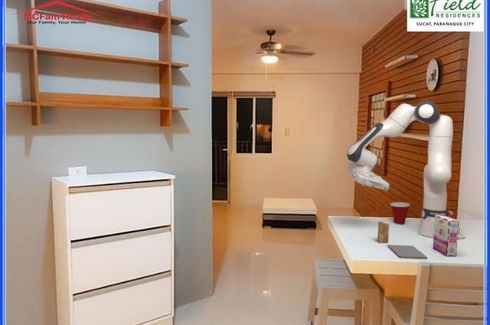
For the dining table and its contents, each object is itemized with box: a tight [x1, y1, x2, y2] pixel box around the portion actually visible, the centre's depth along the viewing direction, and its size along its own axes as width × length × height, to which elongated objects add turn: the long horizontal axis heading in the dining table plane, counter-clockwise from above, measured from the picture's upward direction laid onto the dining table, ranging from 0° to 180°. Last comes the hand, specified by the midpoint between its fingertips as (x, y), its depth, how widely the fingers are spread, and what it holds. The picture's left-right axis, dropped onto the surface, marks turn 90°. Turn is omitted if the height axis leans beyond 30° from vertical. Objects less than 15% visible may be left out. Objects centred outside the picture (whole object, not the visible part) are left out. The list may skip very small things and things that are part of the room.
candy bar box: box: [432, 215, 460, 257], centre depth 175 cm, size 11×5×16 cm, turn 5°
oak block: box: [376, 220, 390, 244], centre depth 189 cm, size 4×4×10 cm
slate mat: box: [386, 244, 428, 260], centre depth 174 cm, size 12×16×1 cm
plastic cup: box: [390, 201, 411, 225], centre depth 227 cm, size 11×11×12 cm
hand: (379, 187), depth 198 cm, fingers open, 8 cm apart
